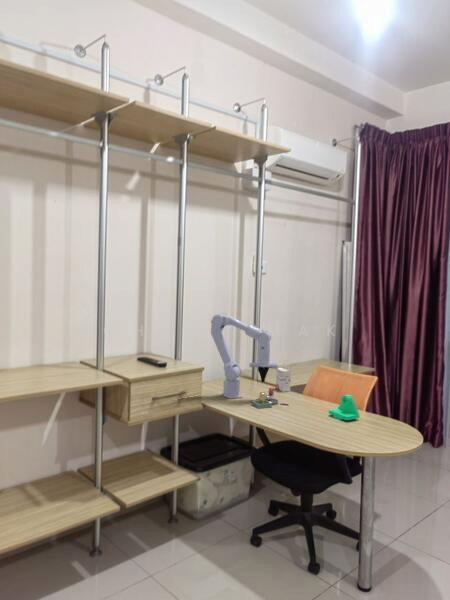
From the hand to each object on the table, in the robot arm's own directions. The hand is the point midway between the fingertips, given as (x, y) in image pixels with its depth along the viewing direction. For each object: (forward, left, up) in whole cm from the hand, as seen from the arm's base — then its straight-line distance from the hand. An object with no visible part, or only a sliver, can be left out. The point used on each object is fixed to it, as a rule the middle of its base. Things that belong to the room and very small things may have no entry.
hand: (263, 381), depth 248 cm
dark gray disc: (+5, 0, -9) cm, 11 cm away
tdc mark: (+12, +6, -9) cm, 16 cm away
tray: (+10, -6, -9) cm, 15 cm away
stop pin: (+10, -5, -9) cm, 15 cm away
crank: (+3, +2, -8) cm, 9 cm away
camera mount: (+39, +21, -10) cm, 46 cm away
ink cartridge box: (-16, +21, -10) cm, 28 cm away
